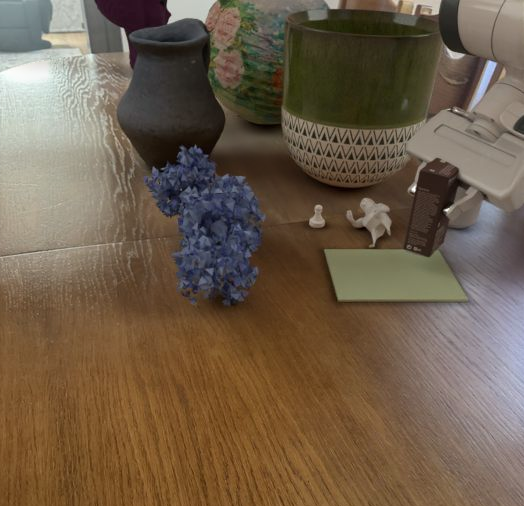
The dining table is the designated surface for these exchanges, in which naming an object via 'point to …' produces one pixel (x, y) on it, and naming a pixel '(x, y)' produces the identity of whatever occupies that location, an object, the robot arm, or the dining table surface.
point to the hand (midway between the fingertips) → (428, 206)
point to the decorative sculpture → (209, 225)
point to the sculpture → (134, 17)
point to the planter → (356, 91)
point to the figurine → (372, 218)
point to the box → (431, 207)
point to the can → (465, 213)
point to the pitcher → (171, 94)
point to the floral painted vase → (250, 54)
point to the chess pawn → (317, 218)
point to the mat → (391, 276)
